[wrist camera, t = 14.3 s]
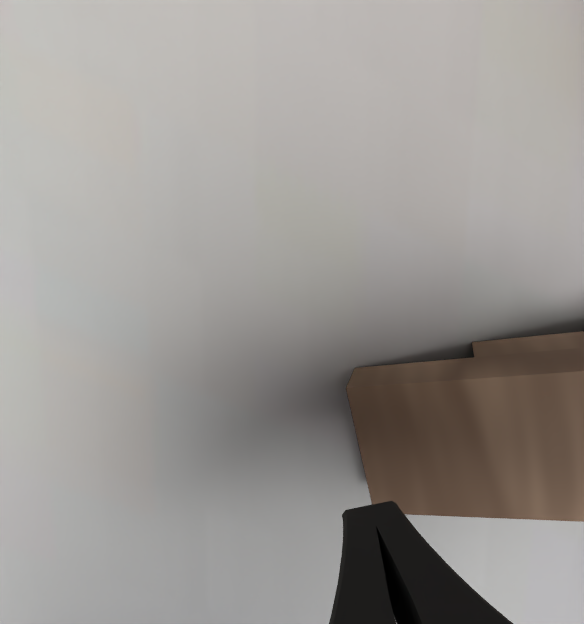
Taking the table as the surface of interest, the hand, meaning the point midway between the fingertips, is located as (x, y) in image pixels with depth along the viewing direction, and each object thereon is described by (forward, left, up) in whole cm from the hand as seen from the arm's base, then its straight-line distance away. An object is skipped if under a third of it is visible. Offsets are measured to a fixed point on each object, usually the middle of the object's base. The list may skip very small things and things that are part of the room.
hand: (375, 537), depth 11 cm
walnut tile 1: (+1, 0, -5) cm, 5 cm away
